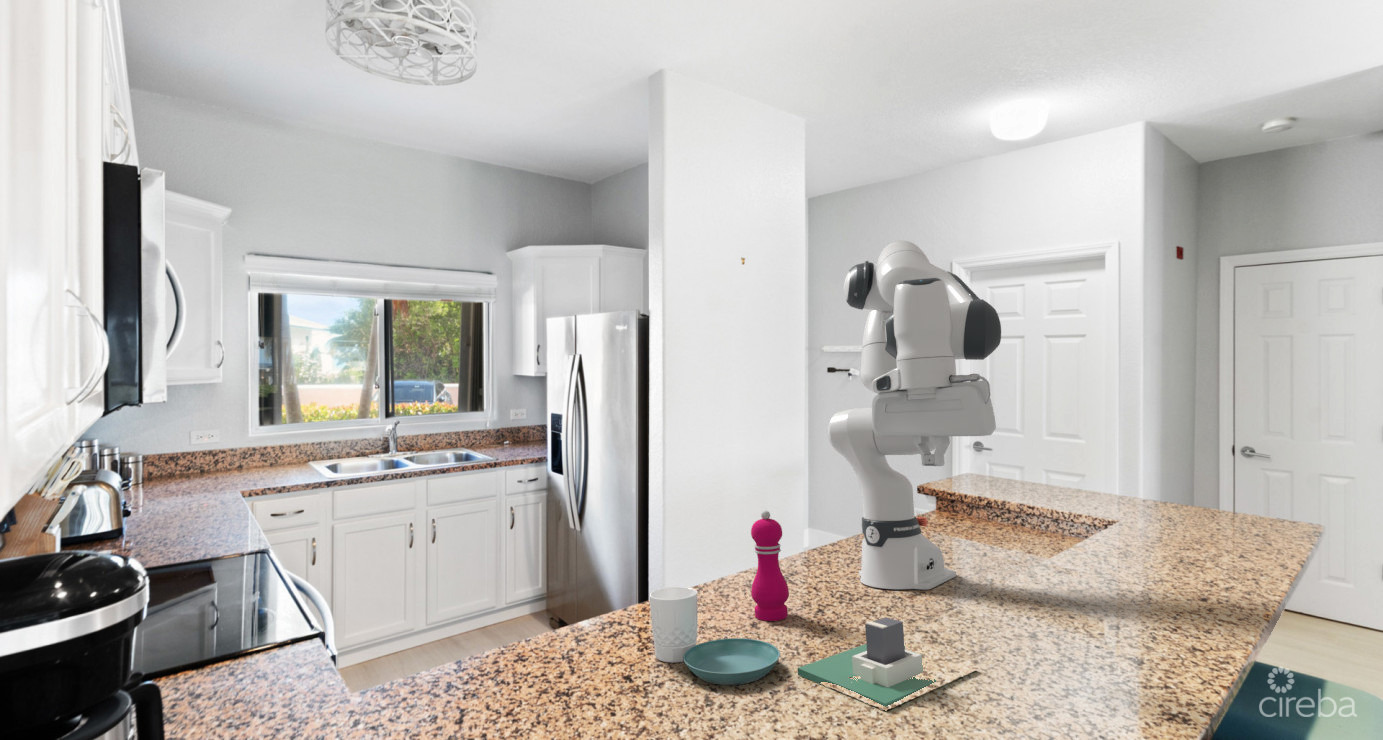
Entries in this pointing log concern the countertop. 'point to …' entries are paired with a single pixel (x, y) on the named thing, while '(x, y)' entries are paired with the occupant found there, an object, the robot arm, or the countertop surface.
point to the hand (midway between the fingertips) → (933, 465)
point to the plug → (885, 640)
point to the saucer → (731, 660)
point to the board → (869, 674)
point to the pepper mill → (768, 571)
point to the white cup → (674, 622)
